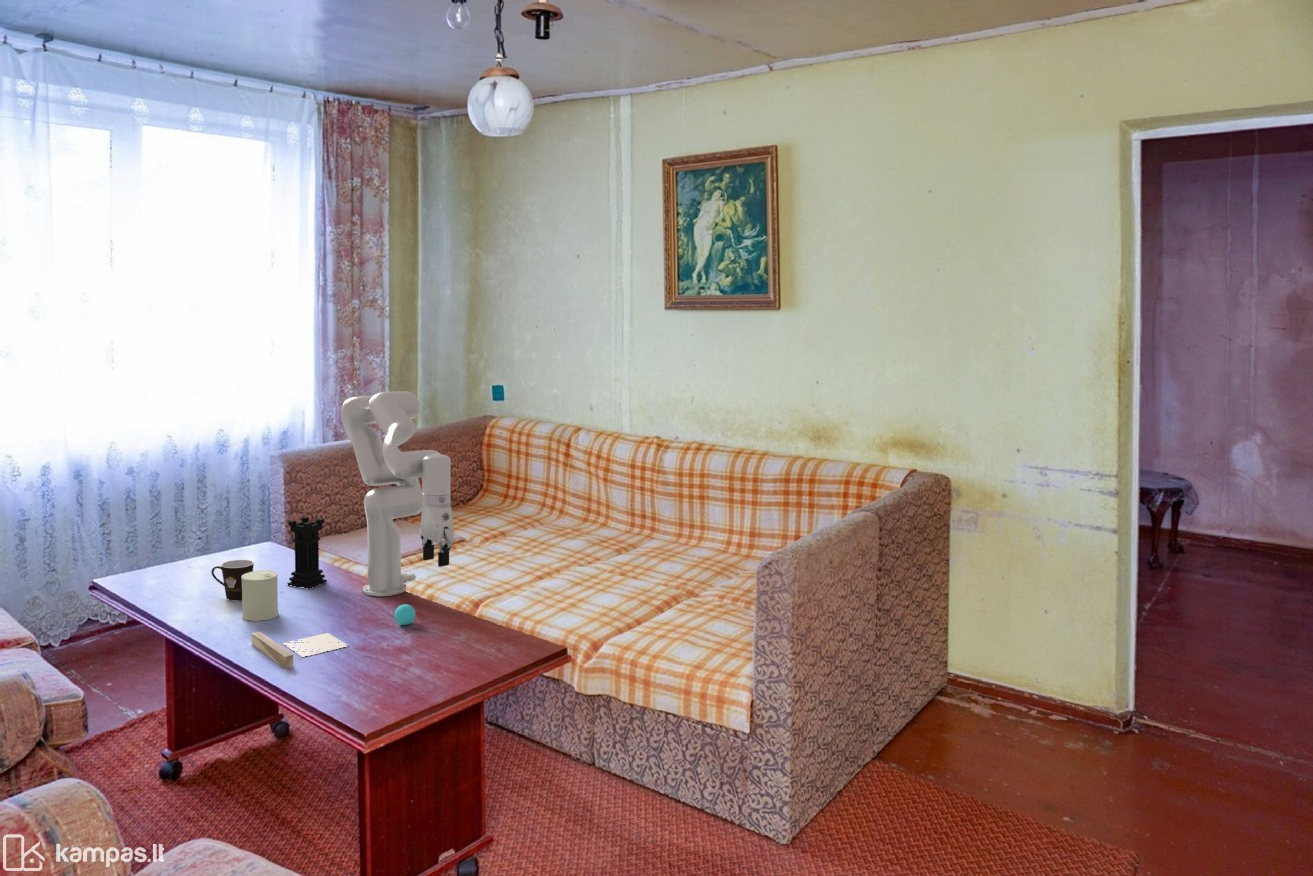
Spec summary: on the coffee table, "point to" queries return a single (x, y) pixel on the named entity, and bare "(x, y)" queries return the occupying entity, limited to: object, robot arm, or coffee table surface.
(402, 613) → the ball
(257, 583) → the can
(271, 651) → the rail
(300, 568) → the chess piece
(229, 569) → the coffee mug
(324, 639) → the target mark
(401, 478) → the robot arm
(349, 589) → the coffee table surface
